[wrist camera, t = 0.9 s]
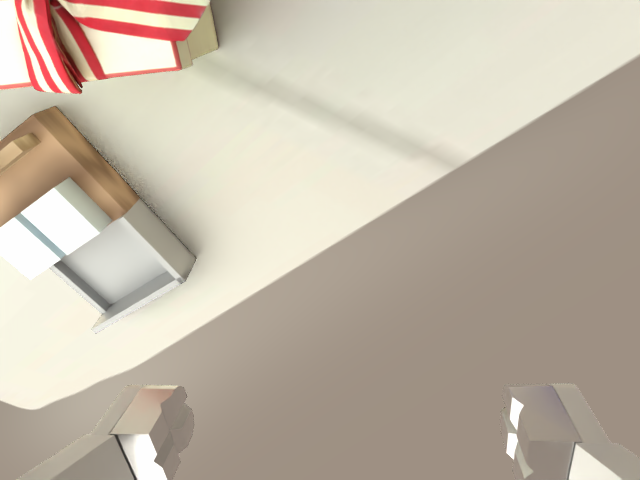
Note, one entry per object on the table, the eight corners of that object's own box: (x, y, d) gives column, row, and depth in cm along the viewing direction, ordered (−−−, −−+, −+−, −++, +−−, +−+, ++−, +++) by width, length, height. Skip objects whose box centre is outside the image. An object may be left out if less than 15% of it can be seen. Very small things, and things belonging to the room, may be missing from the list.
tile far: (2, 227, 46) (-17, 240, 44) (31, 205, 45) (13, 217, 42) (45, 265, 49) (30, 279, 46) (75, 245, 48) (60, 259, 45)
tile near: (37, 200, 45) (20, 212, 42) (69, 176, 43) (53, 187, 41) (81, 241, 47) (67, 255, 45) (112, 220, 46) (99, 233, 43)
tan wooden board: (-34, 178, 48) (-61, 191, 44) (55, 105, 44) (32, 114, 40) (54, 256, 53) (35, 274, 49) (140, 197, 49) (126, 212, 46)
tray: (54, 256, 53) (30, 278, 49) (140, 197, 49) (123, 216, 45) (112, 308, 57) (95, 333, 53) (196, 258, 53) (185, 281, 49)
